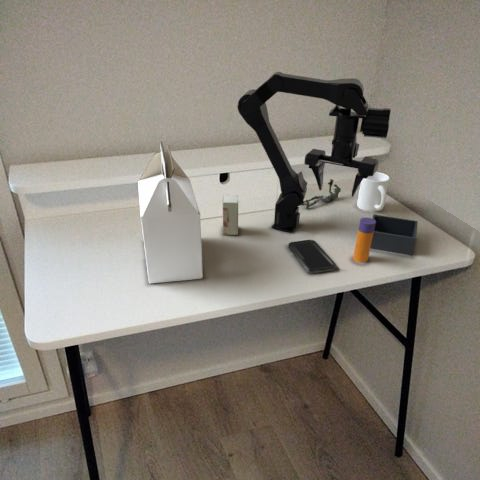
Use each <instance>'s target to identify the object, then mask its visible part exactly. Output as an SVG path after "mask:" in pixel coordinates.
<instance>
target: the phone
mask: <svg viewBox="0 0 480 480" xmlns="http://www.w3.org/2000/svg"><path fill="white" fill-rule="evenodd" d="M287 248H288V250H289V251H290V252H291V253H292V255H293V256H294V258H295V259H297V261H298V262H299V264H300V265H301V266H302V267H303V269H304V270H305V271H306V272H307V273H308V274H319V273H326V272H331V271H335V270H336V266H337V264H336V263H335V262H334V261H333V259H332V258H331V257H330V255H328V254H327V253H326V251H324V249H323V248H322V247H321V246H320V245H319V243H317V241H316V240H314V239H304V240H298V241H297V240H296V241H289V243H288V245H287Z"/></svg>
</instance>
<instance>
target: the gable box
mask: <svg viewBox="0 0 480 480" xmlns="http://www.w3.org/2000/svg"><path fill="white" fill-rule="evenodd" d="M159 147H160V151H158V152H156V153H154V154H153V156H152V157H151V159H150V160H149V162H148V163H147V164H148V165H146V168H145V170H144V171H143V173H142V174H141V176H140V178H139V180H138V181H137V187H138V189H137V191H138V201H139V215H140V216H139V217H140V224H141V232H142V240H143V248H144V255H145V264H146V272H147V279H148V283H149V284H161V283H170V282H172V283H173V282H179V281H180V282H181V281H192V280H202V279H203V276H204V273H203V272H204V271H203V249H202V248H203V247H202V225H201V223H202V222H201V212H200V209H199V208H200V207H199V205H198V202H197V199H196V196H195V195H196V194H195V192H194V189H193V186H192V182H191V179H190V178H189V177H188V176H187V174H186V173H185V172H184V170H183V169H182V168H181V166H180V165H179V164H178V162H177V161H176V160H175V159H174V157H173V156H172V152H171V148H170V145H167V147H166V150H165V148H164V143H163V141H159Z"/></svg>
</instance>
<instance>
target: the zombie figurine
mask: <svg viewBox="0 0 480 480" xmlns="http://www.w3.org/2000/svg"><path fill="white" fill-rule="evenodd" d="M334 181H335V180H334V179H331V178H330V179H329V182H327V185H328V186H329V187H328V193H329V195H315V196H313V197H311V198H310V199H305V200H303V203H302V204H301V205H300V206H302V205H304V204H305V203H306V204H305V208H306V209H307V210H309V208H310V207H312V206H315V205H316V204H317V203H319V202H320V201H323V202H324V203H328V202H330V201H333V200H336V199H337V198H339V193H341V191H342V189H341V187H339V185H338V184H335V183H334ZM332 186H333V187H334V190H333V192H332ZM311 201H313V202H312V203H310V202H311Z"/></svg>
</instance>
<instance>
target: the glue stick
mask: <svg viewBox="0 0 480 480" xmlns="http://www.w3.org/2000/svg"><path fill="white" fill-rule="evenodd" d="M372 218H373V217H361V218H360V219H359V224H358V231H357V235H356V241H355V246H354V251H353V257H352V259H353V260H354V261H355V262H356V263H367V262H368V260H369V255H370V251H371V249H370V247H371V242H372V238H373V233H374V229H375V225H376V221H375V220H374V219H372Z"/></svg>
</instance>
